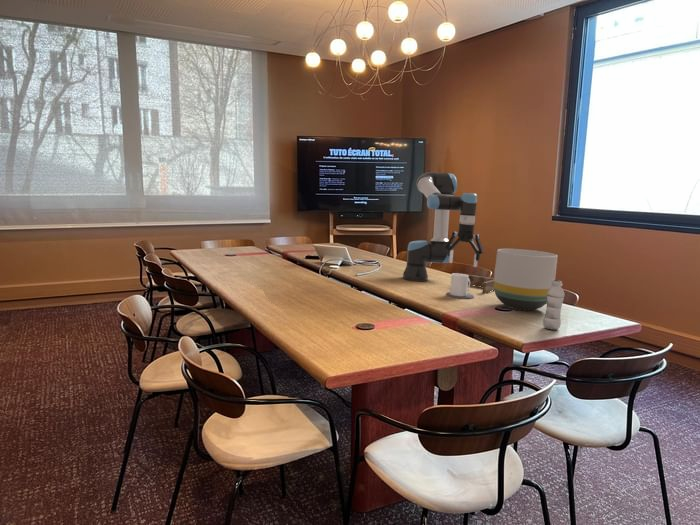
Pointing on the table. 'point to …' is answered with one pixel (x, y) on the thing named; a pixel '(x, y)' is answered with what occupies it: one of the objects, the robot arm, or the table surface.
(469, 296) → the coaster
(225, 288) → the table surface
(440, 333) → the table surface
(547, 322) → the plastic bottle
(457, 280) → the mug
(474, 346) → the table surface
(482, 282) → the dock
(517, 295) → the planter
